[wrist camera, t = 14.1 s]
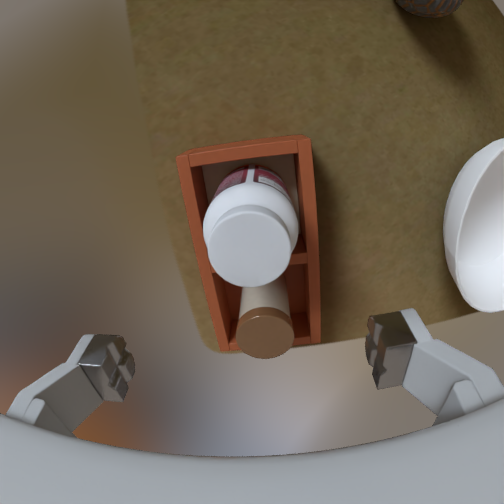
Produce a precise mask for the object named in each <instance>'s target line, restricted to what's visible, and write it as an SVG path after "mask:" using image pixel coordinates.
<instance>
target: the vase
mask: <svg viewBox="0 0 504 504" xmlns="http://www.w3.org/2000/svg"><path fill="white" fill-rule="evenodd" d="M395 1H396V3H397V4H398V5H400V6H401V7H402V8H403V9H405V10H406V11H408V12H410V13H412V14H414V15H417V16H420V17H426V18H439V17H443V16H446V15H449V14H451V13H453V12H454V11H456V10H457V9H458V8H459V7H460V5H461V4H462V2H463V0H395Z"/></svg>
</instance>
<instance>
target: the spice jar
mask: <svg viewBox="0 0 504 504" xmlns="http://www.w3.org/2000/svg"><path fill="white" fill-rule="evenodd" d="M236 342H237V344H238V346H239V348H240V349H241V350H242V351H243V352H244V353H246V354H248V355H250V356H252V357H255V358H261V359H269V358H274V357H277V356H280V355H282V354H283V353H285V352H286V351H288V350H289V349H290V347H291V346H292V344H293V342H294V328H293V323H292V320H291V313H290V305H289V297H288V290H287V282H286V278H285V276H284V274H283V273H282V274H281V275H280V276H279V277H278V278H277V279H276V280H274V281H272V282H271V283H268V284H266V285H263V286H259V287H242V292H241V301H240V311H239V320H238V323H237V327H236Z"/></svg>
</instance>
